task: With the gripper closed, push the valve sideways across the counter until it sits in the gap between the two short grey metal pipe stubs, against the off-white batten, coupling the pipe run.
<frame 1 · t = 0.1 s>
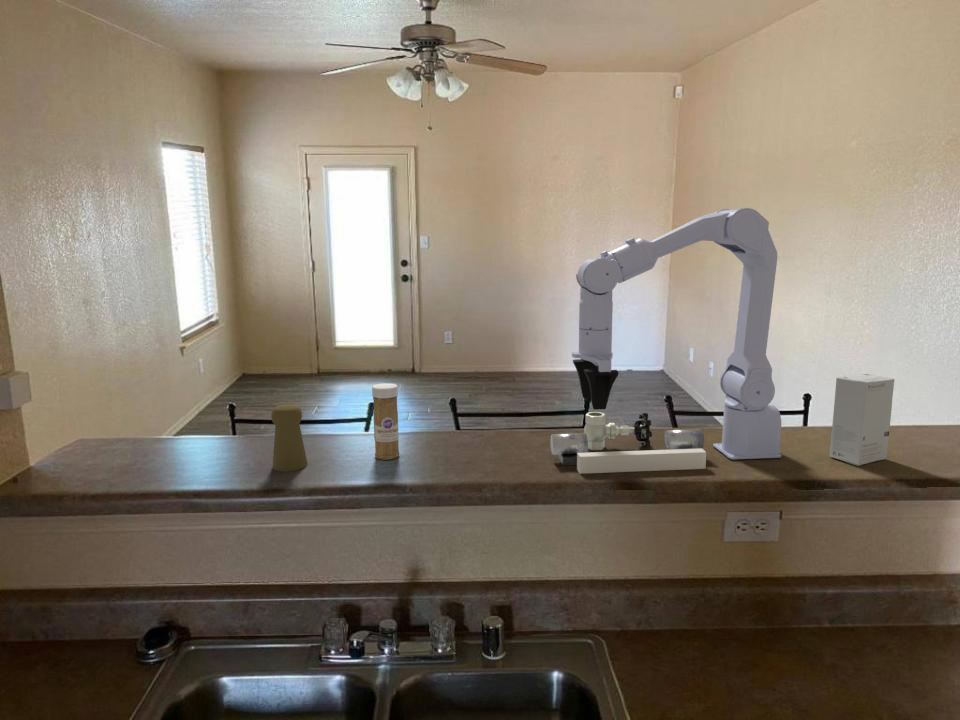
hand: (593, 403, 124), 10 cm above the counter, tool pointing down, fingers open, 7 cm apart
skincare box: (857, 459, 124), on the counter
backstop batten: (641, 469, 120), on the counter
sprinkles bottle: (387, 457, 128), on the counter
valve: (615, 448, 132), on the counter
cork: (290, 466, 123), on the counter
pipe stubs: (626, 458, 125), on the counter
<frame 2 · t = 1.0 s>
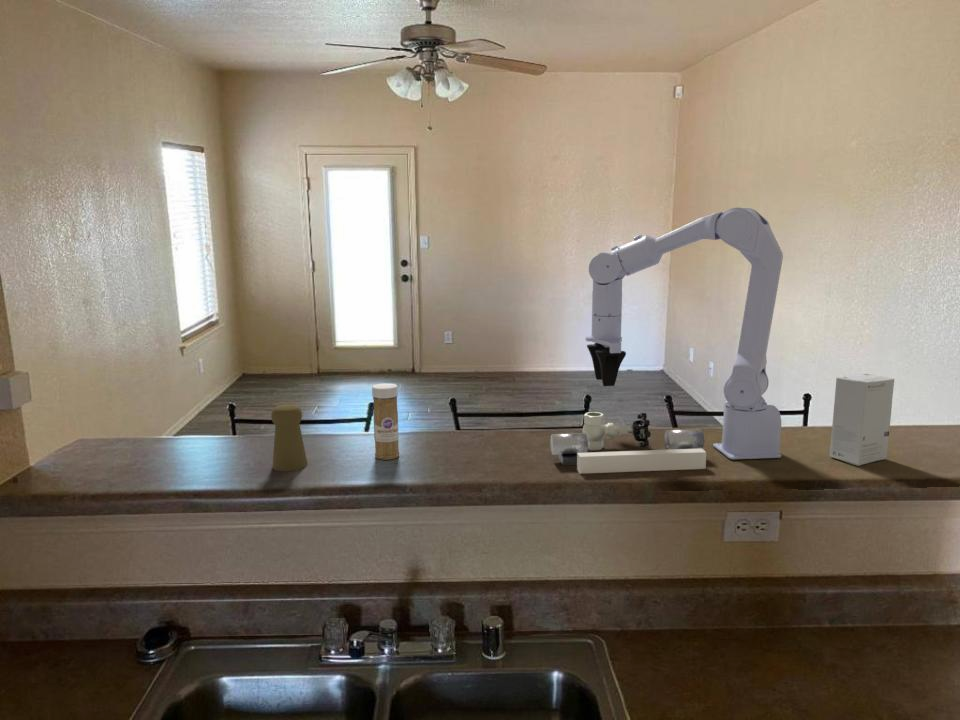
hand: (605, 382, 139), 10 cm above the counter, tool pointing down, fingers open, 5 cm apart
nothing on the counter moved.
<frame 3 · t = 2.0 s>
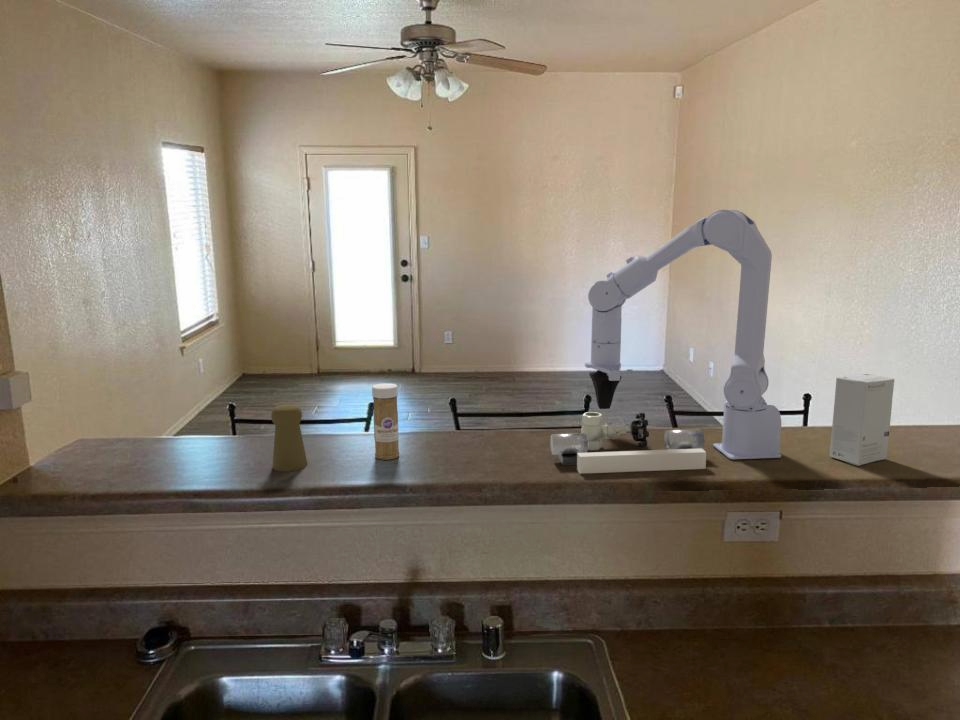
hand: (604, 408, 140), 5 cm above the counter, tool pointing down, fingers closed
nothing on the counter moved.
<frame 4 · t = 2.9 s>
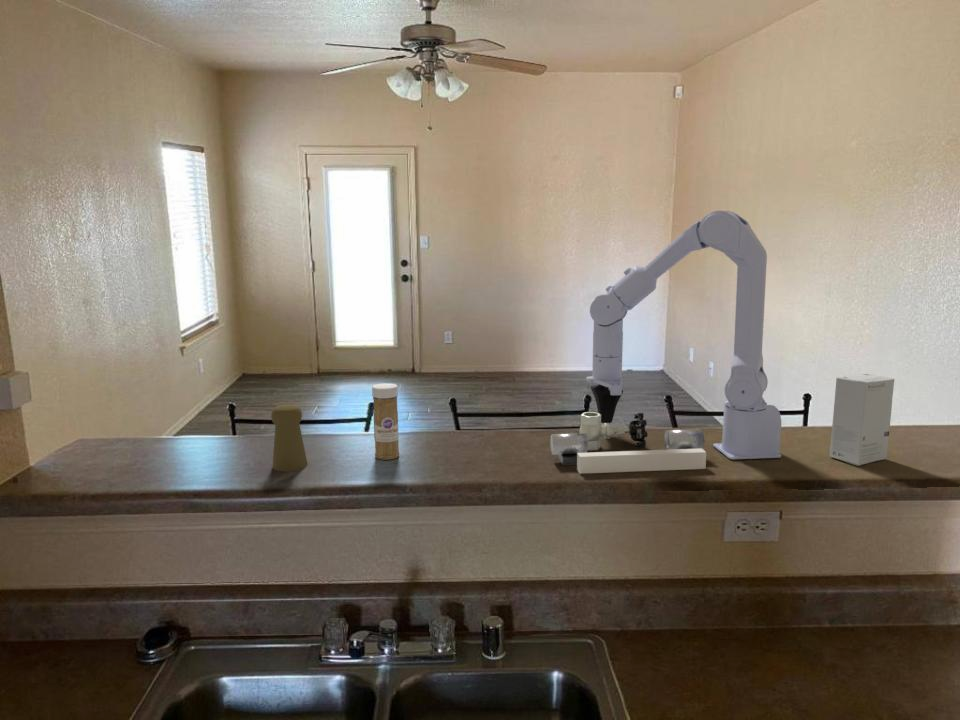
hand: (605, 422, 139), 3 cm above the counter, tool pointing down, fingers closed
nothing on the counter moved.
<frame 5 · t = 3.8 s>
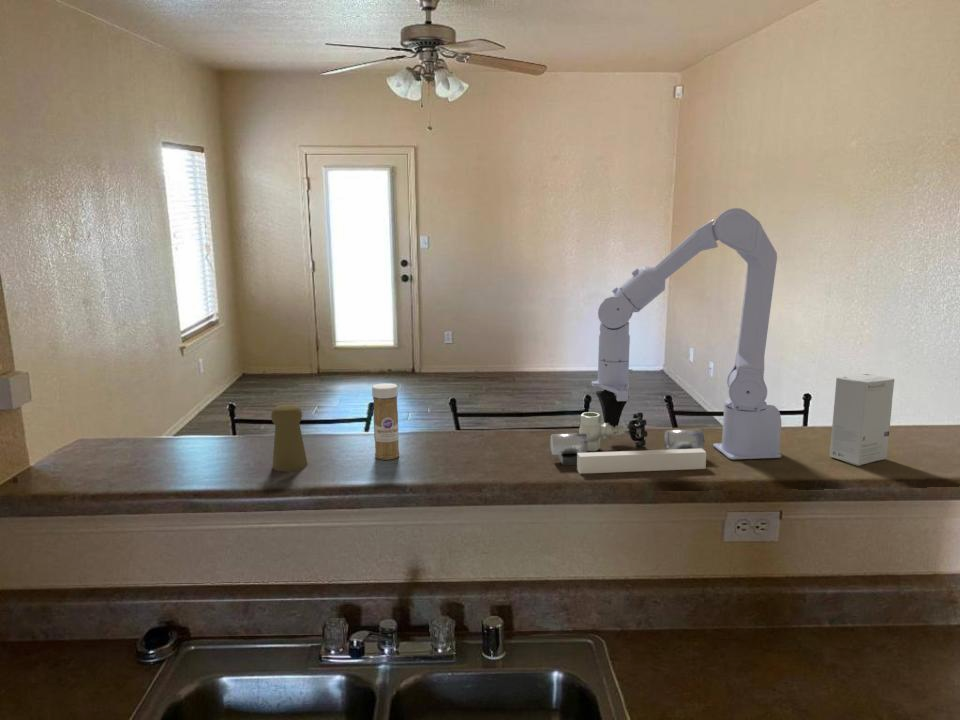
hand: (611, 428, 134), 3 cm above the counter, tool pointing down, fingers closed
valve: (610, 448, 131), on the counter, touching gripper
everything else where it was.
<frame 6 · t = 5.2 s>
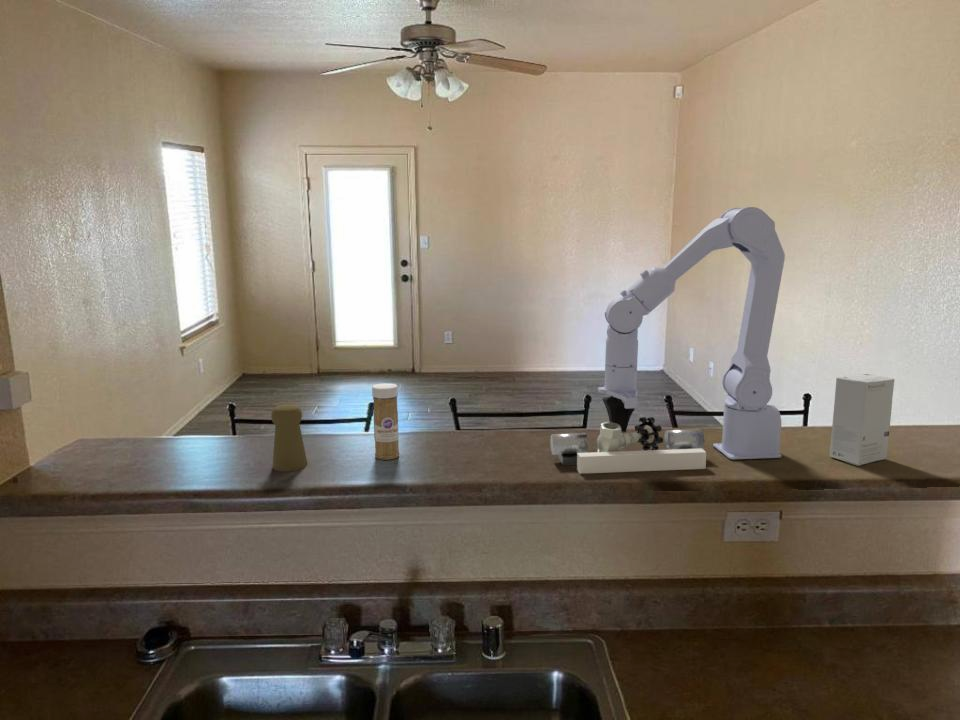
hand: (618, 436, 129), 3 cm above the counter, tool pointing down, fingers closed
valve: (623, 456, 126), on the counter, touching gripper
everything else where it was.
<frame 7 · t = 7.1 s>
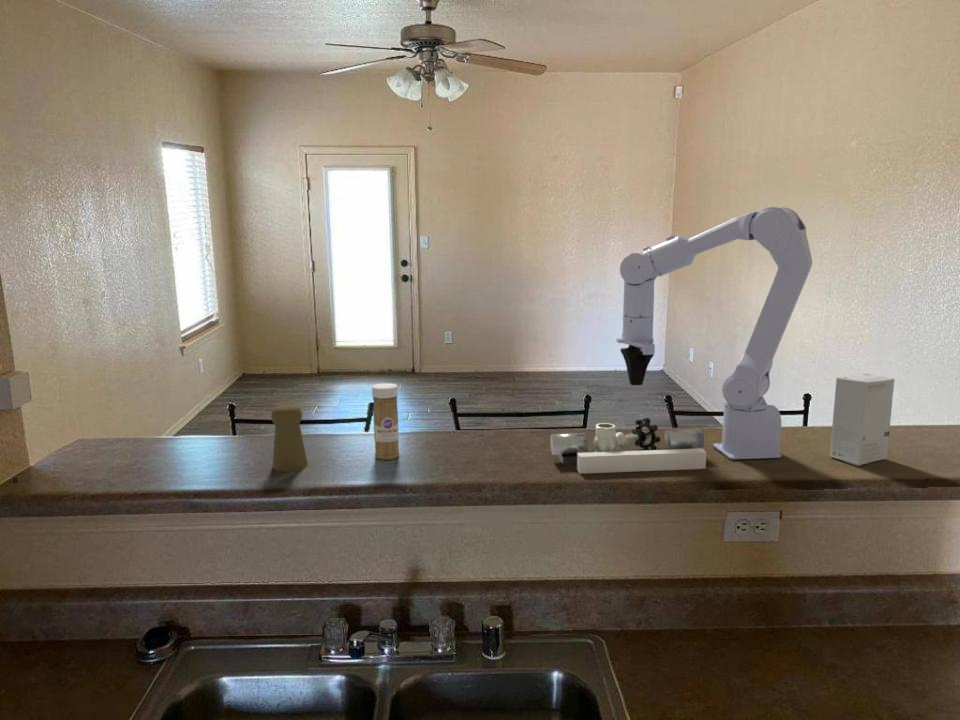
hand: (636, 384, 137), 10 cm above the counter, tool pointing down, fingers closed
valve: (621, 458, 126), on the counter
everything else where it was.
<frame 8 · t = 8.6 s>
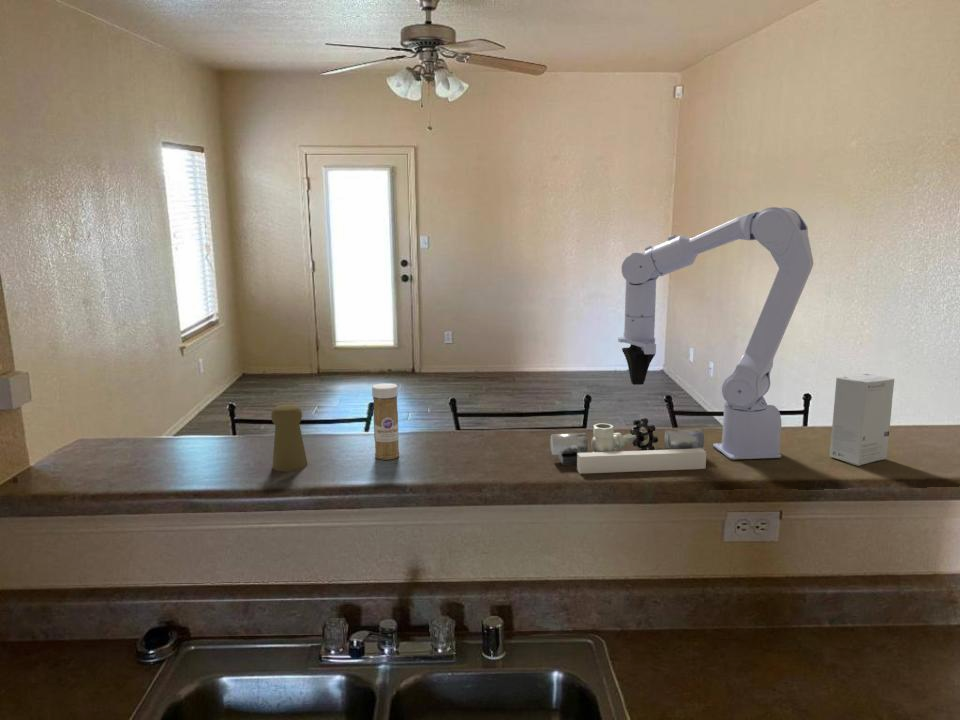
hand: (637, 383, 137), 10 cm above the counter, tool pointing down, fingers closed
nothing on the counter moved.
at the end: valve inside the target area (1.5 cm from its centre), on the counter; valve moved 6.1 cm from its start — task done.
